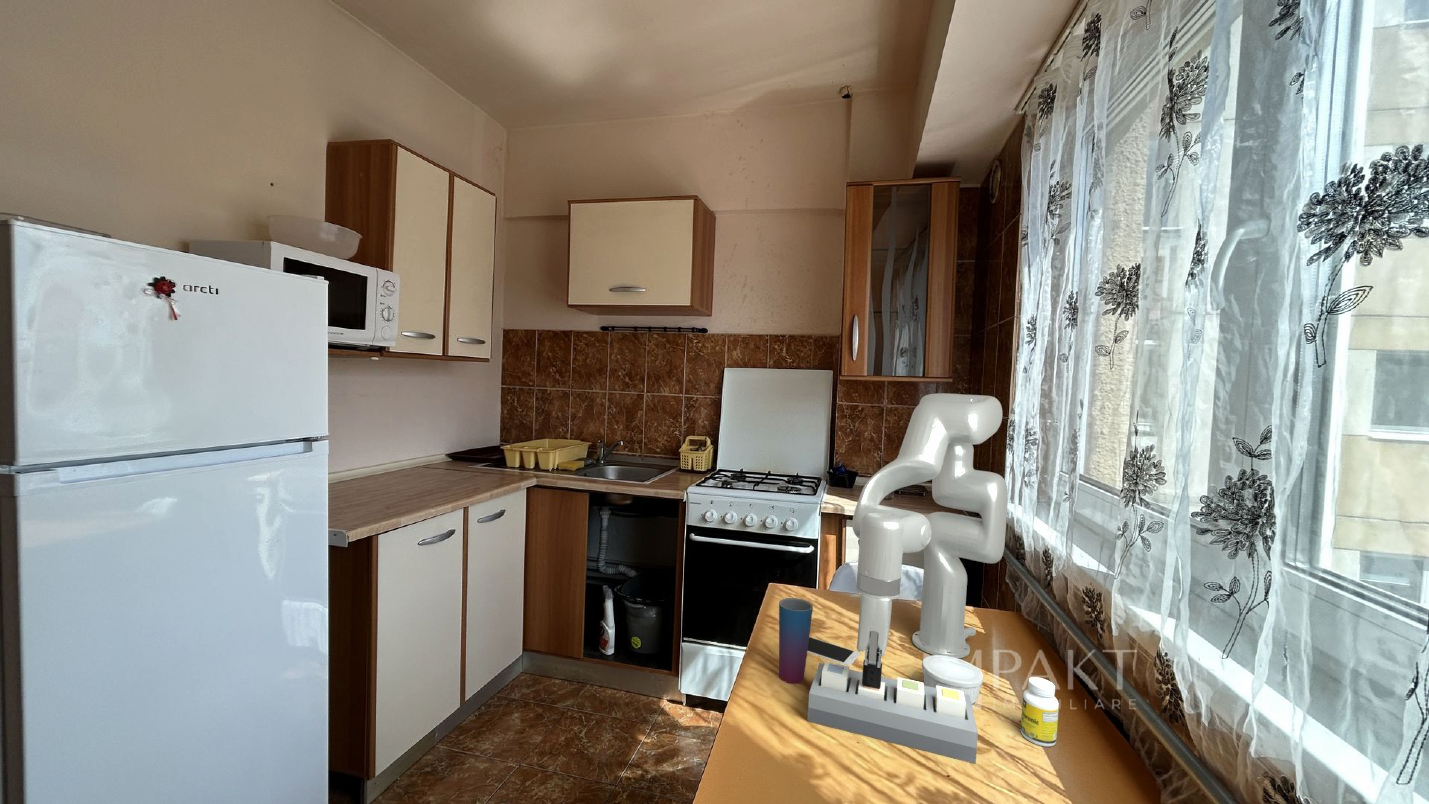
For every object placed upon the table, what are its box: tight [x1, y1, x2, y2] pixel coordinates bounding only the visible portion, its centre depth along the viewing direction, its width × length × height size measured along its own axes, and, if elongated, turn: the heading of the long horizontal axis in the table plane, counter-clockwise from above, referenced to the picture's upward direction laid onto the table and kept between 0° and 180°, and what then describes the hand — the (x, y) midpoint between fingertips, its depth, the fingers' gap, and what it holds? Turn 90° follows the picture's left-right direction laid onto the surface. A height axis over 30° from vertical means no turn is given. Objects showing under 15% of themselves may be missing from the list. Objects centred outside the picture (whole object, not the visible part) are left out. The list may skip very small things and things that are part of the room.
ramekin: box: [921, 654, 984, 705], centre depth 109 cm, size 11×11×5 cm
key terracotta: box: [858, 677, 885, 701], centre depth 99 cm, size 4×4×3 cm
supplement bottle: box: [1020, 676, 1060, 748], centre depth 96 cm, size 5×5×10 cm
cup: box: [778, 597, 814, 685], centre depth 112 cm, size 7×7×15 cm
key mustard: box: [935, 685, 966, 719], centre depth 95 cm, size 4×4×3 cm
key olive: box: [896, 676, 925, 710], centre depth 97 cm, size 4×4×3 cm
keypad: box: [807, 662, 979, 765], centre depth 98 cm, size 27×12×5 cm, turn 71°
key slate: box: [821, 661, 850, 692], centre depth 102 cm, size 4×4×3 cm
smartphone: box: [807, 636, 861, 667], centre depth 125 cm, size 8×1×15 cm
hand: (871, 685), depth 99 cm, fingers closed
